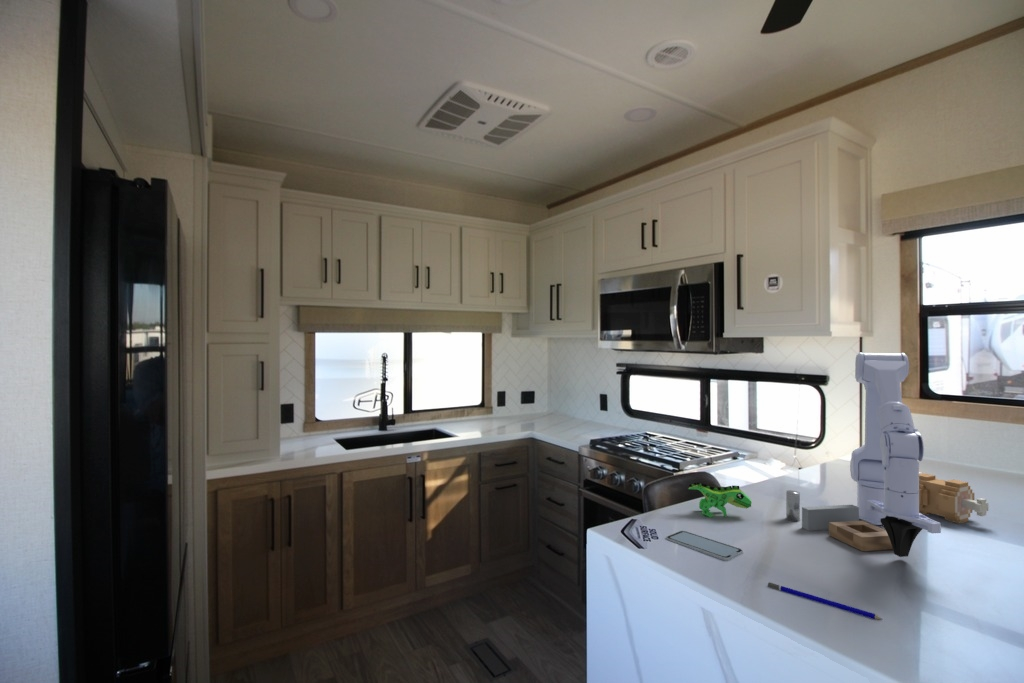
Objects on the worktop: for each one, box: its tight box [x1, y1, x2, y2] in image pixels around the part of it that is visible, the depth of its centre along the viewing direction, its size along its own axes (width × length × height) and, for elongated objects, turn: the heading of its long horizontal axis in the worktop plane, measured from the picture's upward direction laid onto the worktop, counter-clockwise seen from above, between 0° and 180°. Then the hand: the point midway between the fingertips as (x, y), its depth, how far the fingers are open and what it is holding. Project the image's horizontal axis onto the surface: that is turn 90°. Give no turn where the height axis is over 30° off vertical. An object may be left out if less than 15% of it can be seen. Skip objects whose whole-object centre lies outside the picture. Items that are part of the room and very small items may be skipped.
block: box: [828, 520, 893, 552], centre depth 111 cm, size 9×9×3 cm
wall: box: [801, 504, 860, 531], centre depth 119 cm, size 14×2×5 cm, turn 99°
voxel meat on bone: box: [919, 472, 989, 524], centre depth 129 cm, size 10×18×10 cm, turn 24°
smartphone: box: [666, 530, 744, 562], centre depth 108 cm, size 7×1×15 cm
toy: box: [687, 482, 752, 518], centre depth 128 cm, size 6×16×10 cm, turn 78°
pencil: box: [767, 582, 883, 621], centre depth 84 cm, size 17×1×1 cm, turn 48°
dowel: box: [785, 489, 801, 522], centre depth 125 cm, size 3×3×7 cm
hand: (901, 555), depth 101 cm, fingers closed
